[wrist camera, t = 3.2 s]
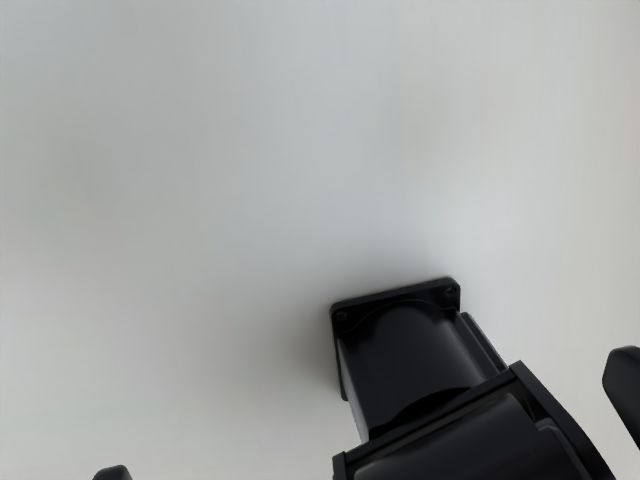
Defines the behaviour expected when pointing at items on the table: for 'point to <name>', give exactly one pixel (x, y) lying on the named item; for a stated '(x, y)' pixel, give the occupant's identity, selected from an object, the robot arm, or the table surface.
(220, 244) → the table surface
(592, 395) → the table surface
